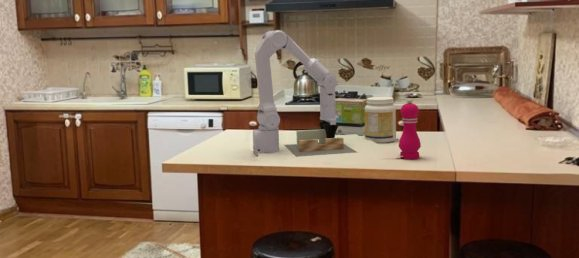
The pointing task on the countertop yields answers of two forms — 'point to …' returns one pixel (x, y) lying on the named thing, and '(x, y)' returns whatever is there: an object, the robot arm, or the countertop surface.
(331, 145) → the oak slotted plate
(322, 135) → the sage notched plate
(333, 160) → the countertop surface
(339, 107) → the tea box
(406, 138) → the pepper mill
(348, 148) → the board
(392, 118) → the supplement tub
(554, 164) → the countertop surface
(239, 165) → the countertop surface
